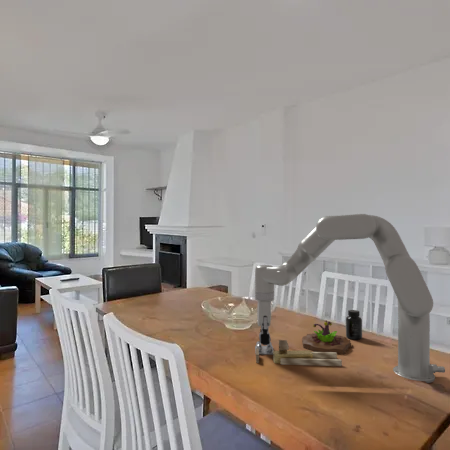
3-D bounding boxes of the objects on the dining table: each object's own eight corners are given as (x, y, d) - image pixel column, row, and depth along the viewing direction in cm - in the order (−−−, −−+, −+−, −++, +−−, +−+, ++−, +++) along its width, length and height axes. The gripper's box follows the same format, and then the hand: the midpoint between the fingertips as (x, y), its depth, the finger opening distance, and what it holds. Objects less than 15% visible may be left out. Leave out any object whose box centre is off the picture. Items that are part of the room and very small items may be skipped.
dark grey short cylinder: (267, 328, 144) (271, 338, 144) (257, 332, 144) (261, 342, 144) (267, 332, 139) (272, 342, 139) (257, 336, 139) (262, 347, 139)
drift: (309, 360, 133) (309, 350, 133) (312, 363, 129) (312, 353, 129) (272, 360, 132) (272, 350, 132) (274, 364, 129) (274, 354, 129)
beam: (336, 357, 134) (336, 341, 134) (341, 366, 126) (341, 348, 126) (255, 355, 136) (255, 339, 136) (256, 363, 128) (256, 346, 128)
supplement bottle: (364, 337, 158) (364, 310, 158) (358, 341, 153) (358, 313, 153) (349, 334, 163) (349, 308, 163) (343, 337, 158) (343, 311, 158)
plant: (297, 350, 143) (297, 323, 143) (305, 336, 161) (305, 312, 161) (350, 357, 135) (350, 328, 135) (351, 342, 154) (351, 316, 154)
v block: (255, 347, 146) (255, 340, 146) (272, 347, 145) (272, 341, 145) (255, 354, 138) (255, 347, 138) (274, 354, 137) (274, 347, 137)
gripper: (254, 291, 150) (254, 334, 150) (255, 300, 133) (255, 348, 133) (272, 292, 150) (272, 335, 150) (275, 300, 133) (275, 349, 133)
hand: (264, 340), depth 142 cm, fingers closed on dark grey short cylinder, 5 cm apart
